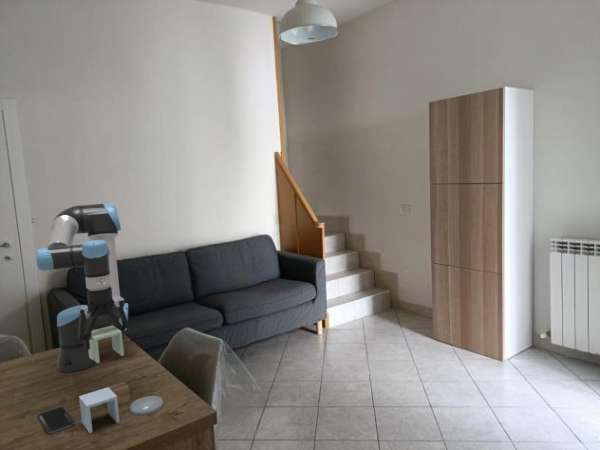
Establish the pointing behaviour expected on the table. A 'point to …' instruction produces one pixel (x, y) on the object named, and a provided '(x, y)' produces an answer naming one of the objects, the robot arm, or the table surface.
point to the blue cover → (97, 399)
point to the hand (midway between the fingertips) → (106, 353)
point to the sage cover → (105, 333)
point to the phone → (56, 420)
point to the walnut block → (121, 392)
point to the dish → (146, 405)
